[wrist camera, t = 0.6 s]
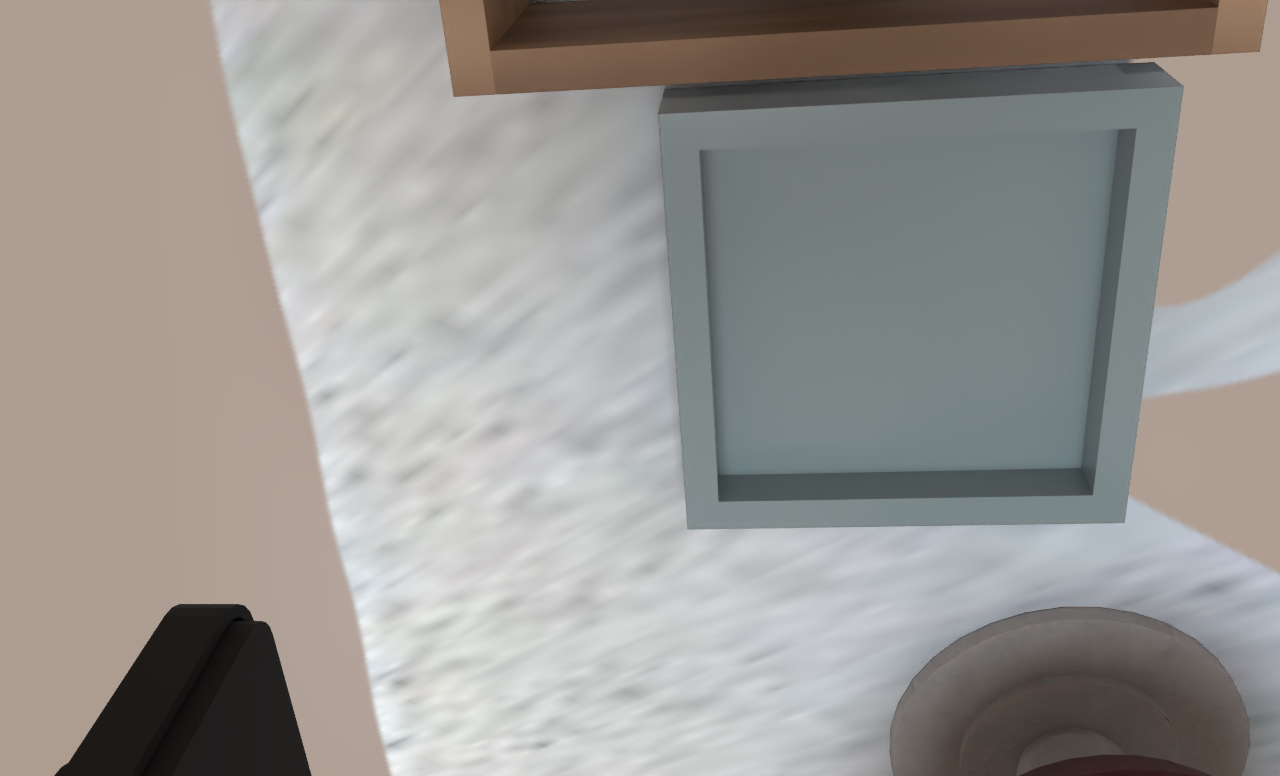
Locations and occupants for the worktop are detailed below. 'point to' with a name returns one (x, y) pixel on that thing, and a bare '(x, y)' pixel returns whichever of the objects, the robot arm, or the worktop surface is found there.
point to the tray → (915, 293)
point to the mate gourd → (1071, 702)
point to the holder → (813, 38)
